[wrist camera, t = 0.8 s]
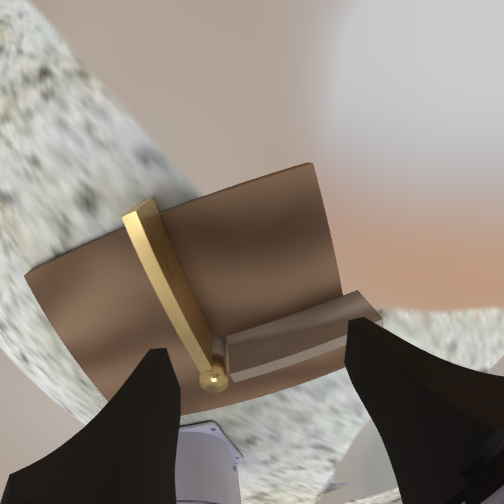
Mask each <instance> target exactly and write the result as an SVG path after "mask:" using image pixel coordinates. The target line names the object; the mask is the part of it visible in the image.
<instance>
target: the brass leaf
mask: <svg viewBox="0 0 504 504" xmlns="http://www.w3.org/2000/svg"><path fill="white" fill-rule="evenodd" d="M121 218H122V220H123V222H124V225H125V227H126V229H127V232H128V234H129V236H130V239H131V241H132V243H133V245H134V248H135V250H136V252H137V254H138V256H139V259H140V261H141V263H142V265H143V267H144V269H145V271H146V273H147V275H148V278H149V280H150V282H151V284H152V286H153V288H154V290H155V292H156V294H157V296H158V298H159V300H160V301H161V303H162V305H163V307H164V309H165V311H166V313H167V315H168V317H169V319H170V320H171V322H172V324H173V326H174V328H175V330H176V331H177V333H178V335H179V337H180V339H181V340H182V342H183V344H184V346H185V347H186V349H187V351H188V353H189V354H190V356H191V358H192V359H193V361H194V363H195V364H196V366H197V368H198V369H199V371H200V382H199V383H200V386H201V388H202V389H204V390H205V391H208V392H212V393H216V392H221V391H223V390H225V389H226V388H227V387H228V371H227V362H226V360H225V359H224V358H223V357H221V356H219V355H212V331H211V329H210V327H209V325H208V323H207V321H206V319H205V317H204V315H203V313H202V310H201V308H200V306H199V304H198V302H197V300H196V298H195V296H194V293H193V291H192V289H191V287H190V285H189V283H188V280H187V278H186V276H185V274H184V271H183V269H182V267H181V265H180V262H179V260H178V258H177V255H176V253H175V251H174V248H173V246H172V244H171V241H170V239H169V237H168V234H167V232H166V229H165V227H164V224H163V222H162V220H161V217H160V215H159V212H158V210H157V207H156V204H155V202H154V199H153V197H151V198H149V199H147V200H144V201H142V202H140V203H139V204H137V205H136V206H135V207H134V208H132V209H131V210H130V211H128V212H127V213H126V214H125V215H123V216H122V217H121Z"/></svg>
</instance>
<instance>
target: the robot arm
mask: <svg viewBox="0 0 504 504" xmlns="http://www.w3.org/2000/svg"><path fill="white" fill-rule="evenodd" d="M344 363H345V366H346V369H347V371H348V374H349V377H350V379H351V382H352V384H353V386H354V388H355V390H356V392H357V393H358V395H359V397H360V399H361V401H362V402H363V404H364V406H365V408H366V409H367V411H368V413H369V415H370V417H371V418H372V420H373V422H374V424H375V425H376V427H377V429H378V431H379V433H380V436H381V437H382V440H383V442H384V445H385V448H386V451H387V453H388V456H389V459H390V461H391V464H392V467H393V470H394V473H395V476H396V480H397V483H398V487H399V491H400V494H401V498H402V503H403V504H504V377H503V376H497V375H492V374H487V373H483V372H479V371H475V370H472V369H468V368H465V367H462V366H459V365H456V364H453V363H451V362H448V361H446V360H443V359H441V358H438V357H436V356H434V355H432V354H430V353H428V352H426V351H424V350H422V349H420V348H418V347H416V346H414V345H412V344H410V343H408V342H407V341H405V340H403V339H401V338H400V337H398V336H396V335H394V334H393V333H391V332H389V331H388V330H386V329H384V328H383V327H381V326H379V325H378V324H376V323H374V322H372V321H371V320H369V319H367V318H365V317H361V318H356V319H352V320H348V331H347V341H346V350H345V359H344ZM180 416H181V388H180V385H179V382H178V380H177V377H176V374H175V371H174V369H173V366H172V363H171V360H170V357H169V354H168V351H167V348H155V349H149V351H148V352H147V353H146V355H145V356H144V357H143V358H142V360H141V361H140V363H139V364H138V365H137V367H136V368H135V369H134V371H133V372H132V373H131V375H130V376H129V377H128V379H127V380H126V381H125V382H124V384H123V385H122V386H121V388H120V389H119V390H118V391H117V393H116V394H115V395H114V396H113V397H112V399H111V400H110V401H109V402H108V403H107V404H106V406H105V407H104V408H103V409H102V410H101V411H100V412H99V413H98V414H97V415H96V416H95V417H94V418H93V419H92V420H91V421H90V422H89V423H88V424H87V425H86V426H85V427H84V428H83V429H82V430H80V431H79V432H78V433H77V434H76V435H74V436H73V437H72V438H71V439H69V440H68V441H67V442H66V443H64V444H63V445H62V446H60V447H59V448H57V449H56V450H55V451H53V452H52V453H50V454H48V455H47V456H45V457H44V458H42V459H40V460H39V461H37V462H35V463H33V464H31V465H29V466H27V467H25V468H23V469H21V470H19V471H17V472H14V473H12V474H10V475H9V478H8V481H7V484H6V487H5V490H4V493H3V496H2V499H1V503H0V504H241V496H240V488H239V480H238V471H237V463H241V462H244V458H243V457H242V455H241V454H240V453H239V452H238V451H237V449H236V448H235V447H234V446H233V444H232V443H231V442H230V441H229V439H228V438H227V437H226V436H225V434H224V433H223V432H222V431H221V429H220V428H219V427H218V425H217V424H216V423H215V422H206V423H201V424H196V425H191V426H185V427H179V425H180Z"/></svg>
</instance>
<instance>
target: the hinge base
mask: <svg viewBox="0 0 504 504" xmlns="http://www.w3.org/2000/svg"><path fill="white" fill-rule="evenodd" d="M159 215H160V217H161V220H162V222H163V224H164V227H165V229H166V232H167V234H168V237H169V239H170V241H171V244H172V246H173V248H174V251H175V253H176V255H177V258H178V260H179V262H180V265H181V267H182V269H183V271H184V274H185V276H186V278H187V280H188V283H189V285H190V287H191V289H192V291H193V293H194V296H195V298H196V300H197V302H198V304H199V306H200V308H201V310H202V313H203V315H204V317H205V319H206V321H207V323H208V325H209V327H210V329H211V331H212V355H219V356H221V357H223V358H224V359H225V360H226V362H227V371H228V387H227V388H226V389H225V390H223V391H221V392H216V393H212V392H208V391H205V390H204V389H202V388H201V386H200V383H199V382H200V371H199V369H198V368H197V366H196V364H195V363H194V361H193V359H192V358H191V356H190V354H189V353H188V351H187V349H186V347H185V346H184V344H183V342H182V340H181V339H180V337H179V335H178V333H177V331H176V330H175V328H174V326H173V324H172V322H171V320H170V319H169V317H168V315H167V313H166V311H165V309H164V307H163V305H162V303H161V301H160V300H159V298H158V296H157V294H156V292H155V290H154V288H153V286H152V284H151V282H150V280H149V278H148V275H147V273H146V271H145V269H144V267H143V265H142V263H141V261H140V259H139V256H138V254H137V252H136V250H135V248H134V245H133V243H132V241H131V239H130V236H129V234H128V232H127V229H126V227H123V228H121V229H119V230H116V231H114V232H111V233H109V234H107V235H105V236H102V237H100V238H98V239H95V240H93V241H91V242H89V243H86V244H84V245H82V246H80V247H78V248H76V249H73V250H71V251H69V252H67V253H65V254H63V255H61V256H58V257H56V258H54V259H52V260H50V261H48V262H46V263H44V264H42V265H40V266H38V267H36V268H34V269H32V270H30V271H29V272H28V273H26V274H25V275H24V277H25V279H26V281H27V283H28V285H29V287H30V289H31V291H32V292H33V294H34V296H35V298H36V300H37V301H38V303H39V305H40V307H41V308H42V310H43V312H44V313H45V315H46V317H47V318H48V320H49V322H50V323H51V325H52V326H53V328H54V329H55V331H56V333H57V334H58V336H59V337H60V339H61V340H62V342H63V343H64V345H65V346H66V347H67V349H68V350H69V352H70V353H71V355H72V356H73V357H74V359H75V360H76V361H77V363H78V364H79V365H80V367H81V368H82V369H83V371H84V372H85V373H86V375H87V376H88V377H89V378H90V380H91V381H92V382H93V383H94V385H95V386H96V387H97V388H98V390H99V391H100V392H101V393H102V394H103V396H104V397H105V398H106V399H107V400H108V401H110V400H111V399H112V397H113V396H114V395H115V394H116V393H117V391H118V390H119V389H120V388H121V386H122V385H123V384H124V382H125V381H126V380H127V379H128V377H129V376H130V375H131V373H132V372H133V371H134V369H135V368H136V367H137V365H138V364H139V363H140V361H141V360H142V358H143V357H144V356H145V355H146V353H147V352H148V351H149V349H155V348H167V351H168V354H169V357H170V360H171V363H172V366H173V369H174V371H175V374H176V377H177V380H178V382H179V385H180V388H181V415H186V414H191V413H196V412H201V411H206V410H210V409H215V408H219V407H223V406H227V405H231V404H235V403H239V402H243V401H246V400H250V399H254V398H257V397H261V396H264V395H267V394H271V393H274V392H277V391H280V390H284V389H287V388H290V387H293V386H296V385H299V384H302V383H305V382H307V381H310V380H313V379H316V378H318V377H321V376H324V375H326V374H329V373H332V372H334V371H337V370H339V369H342V368H344V367H346V366H345V363H344V359H345V350H346V341H347V331H348V320H352V319H356V318H361V317H365V318H367V319H369V320H371V321H372V322H374V323H376V324H378V325H379V326H381V327H383V318H382V317H381V316H380V315H379V314H378V313H377V311H376V310H375V309H374V308H373V307H372V306H371V305H370V304H369V302H368V301H367V300H366V299H365V298H364V297H363V296H362V295H361V293H360V292H359V291H358V290H357V291H354V292H351V293H349V294H346V295H344V296H343V294H342V289H341V283H340V278H339V273H338V268H337V263H336V258H335V253H334V248H333V244H332V239H331V234H330V230H329V226H328V221H327V217H326V213H325V209H324V205H323V200H322V196H321V193H320V189H319V185H318V181H317V177H316V173H315V170H314V166H313V163H304V164H301V165H298V166H294V167H291V168H288V169H284V170H281V171H278V172H275V173H271V174H268V175H265V176H262V177H259V178H256V179H253V180H249V181H247V182H244V183H241V184H237V185H234V186H232V187H229V188H226V189H223V190H220V191H217V192H214V193H211V194H209V195H206V196H203V197H200V198H197V199H195V200H192V201H189V202H187V203H184V204H181V205H179V206H176V207H173V208H171V209H168V210H165V211H163V212H160V213H159ZM383 328H384V327H383Z"/></svg>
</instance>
